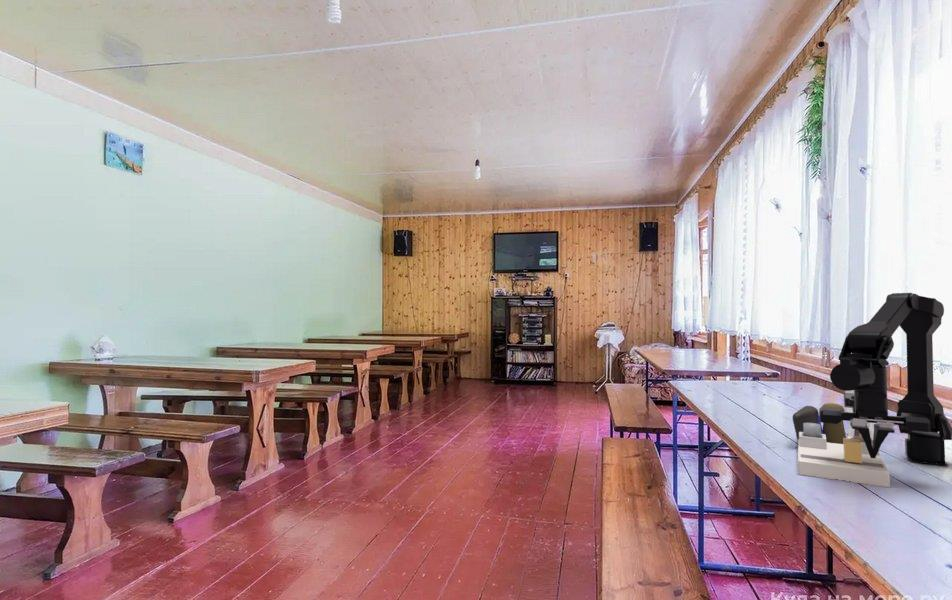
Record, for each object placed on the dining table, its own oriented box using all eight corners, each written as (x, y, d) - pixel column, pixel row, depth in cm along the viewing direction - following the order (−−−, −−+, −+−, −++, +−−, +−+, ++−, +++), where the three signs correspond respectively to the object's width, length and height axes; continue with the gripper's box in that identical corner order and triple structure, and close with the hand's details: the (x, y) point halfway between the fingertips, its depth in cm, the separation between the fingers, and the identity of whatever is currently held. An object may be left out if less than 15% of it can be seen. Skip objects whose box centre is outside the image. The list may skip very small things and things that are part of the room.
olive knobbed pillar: (840, 447, 132) (838, 406, 132) (816, 442, 137) (814, 403, 137) (852, 444, 134) (850, 404, 135) (828, 439, 140) (826, 401, 140)
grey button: (820, 435, 124) (820, 423, 124) (821, 438, 121) (820, 426, 121) (803, 433, 126) (803, 422, 126) (803, 436, 123) (803, 424, 123)
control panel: (876, 460, 120) (875, 437, 121) (890, 487, 102) (889, 461, 102) (798, 450, 129) (798, 429, 129) (798, 474, 111) (797, 450, 111)
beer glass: (879, 443, 135) (877, 388, 136) (847, 439, 139) (846, 387, 139) (875, 437, 141) (873, 385, 142) (845, 434, 145) (843, 383, 145)
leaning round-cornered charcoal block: (818, 449, 127) (810, 413, 128) (798, 449, 130) (790, 414, 132) (830, 437, 139) (822, 404, 140) (811, 437, 142) (803, 405, 143)
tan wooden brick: (860, 459, 110) (859, 439, 110) (862, 463, 107) (861, 443, 107) (843, 457, 112) (843, 437, 112) (845, 461, 109) (844, 441, 109)
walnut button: (871, 449, 118) (870, 437, 119) (873, 453, 115) (872, 440, 116) (852, 447, 120) (852, 435, 121) (854, 451, 117) (853, 438, 118)
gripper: (918, 385, 110) (921, 454, 109) (817, 379, 120) (819, 443, 119) (929, 392, 100) (933, 468, 100) (819, 385, 110) (821, 455, 110)
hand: (872, 457), depth 108 cm, fingers closed
